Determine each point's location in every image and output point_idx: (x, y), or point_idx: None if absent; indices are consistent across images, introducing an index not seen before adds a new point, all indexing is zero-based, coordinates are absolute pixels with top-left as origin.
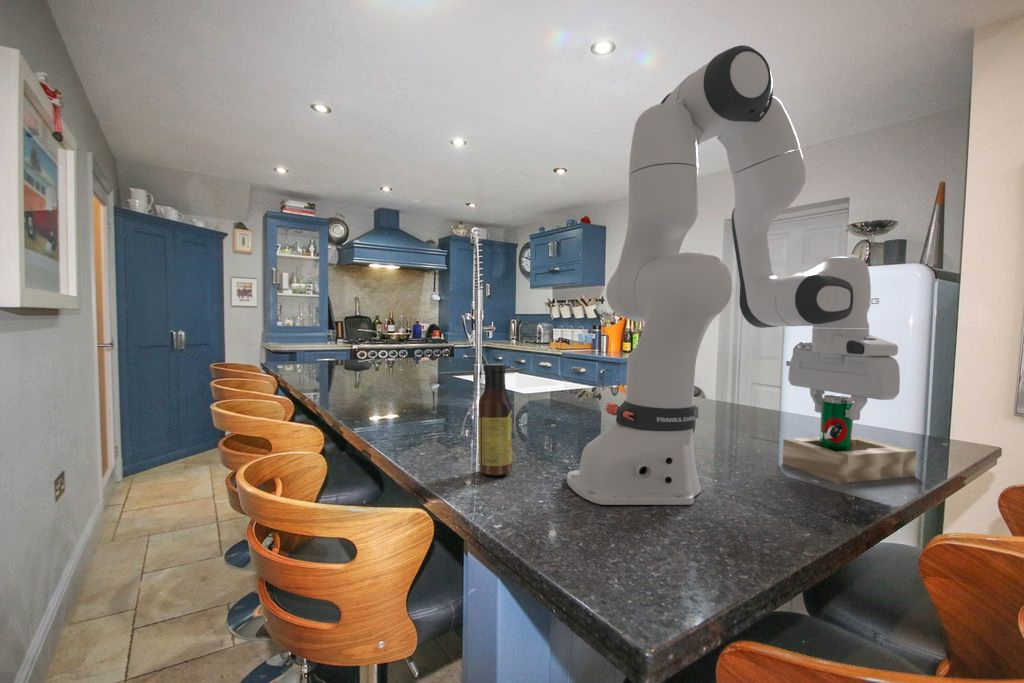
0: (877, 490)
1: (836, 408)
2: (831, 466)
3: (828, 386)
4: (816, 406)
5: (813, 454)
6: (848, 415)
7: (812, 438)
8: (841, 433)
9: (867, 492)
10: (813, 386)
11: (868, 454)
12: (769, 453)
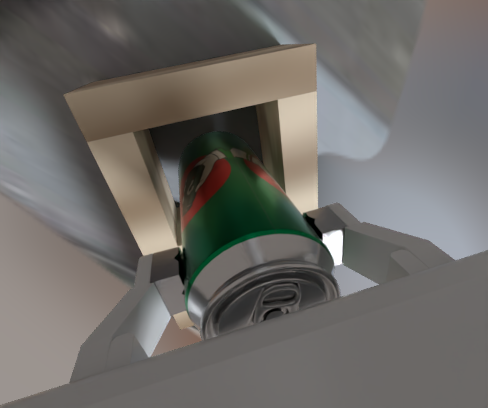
0: (58, 159)
1: (198, 244)
2: (102, 83)
3: (311, 344)
4: (342, 216)
5: (174, 70)
6: (157, 259)
7: (307, 166)
8: (182, 198)
9: (28, 120)
10: (441, 278)
11: (125, 217)
12: (372, 78)
